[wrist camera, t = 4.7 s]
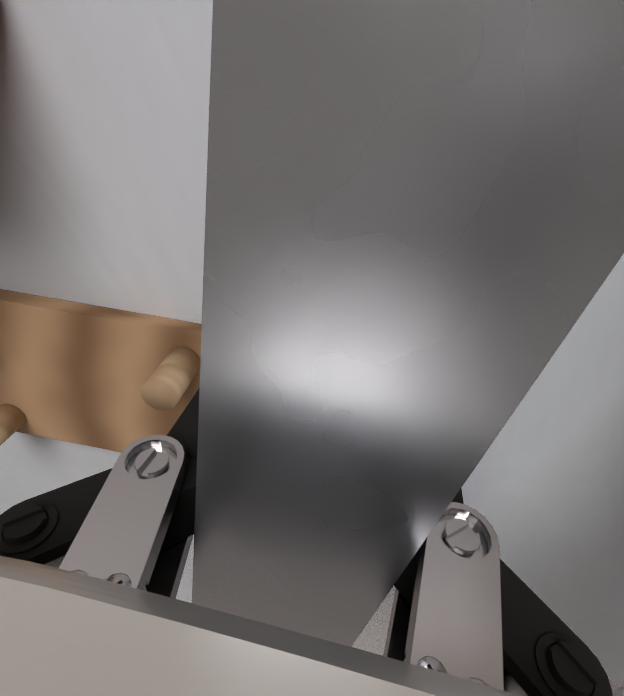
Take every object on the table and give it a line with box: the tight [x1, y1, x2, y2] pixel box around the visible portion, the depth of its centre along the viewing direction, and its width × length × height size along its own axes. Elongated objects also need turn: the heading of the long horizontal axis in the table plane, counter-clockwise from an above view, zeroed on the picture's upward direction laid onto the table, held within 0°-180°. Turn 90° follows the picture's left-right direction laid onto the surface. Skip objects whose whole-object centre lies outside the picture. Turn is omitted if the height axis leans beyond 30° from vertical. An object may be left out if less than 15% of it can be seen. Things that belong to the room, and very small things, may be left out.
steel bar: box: [192, 0, 624, 647], centre depth 10 cm, size 18×4×6 cm, turn 169°
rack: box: [0, 289, 202, 452], centre depth 26 cm, size 20×12×5 cm, turn 84°
